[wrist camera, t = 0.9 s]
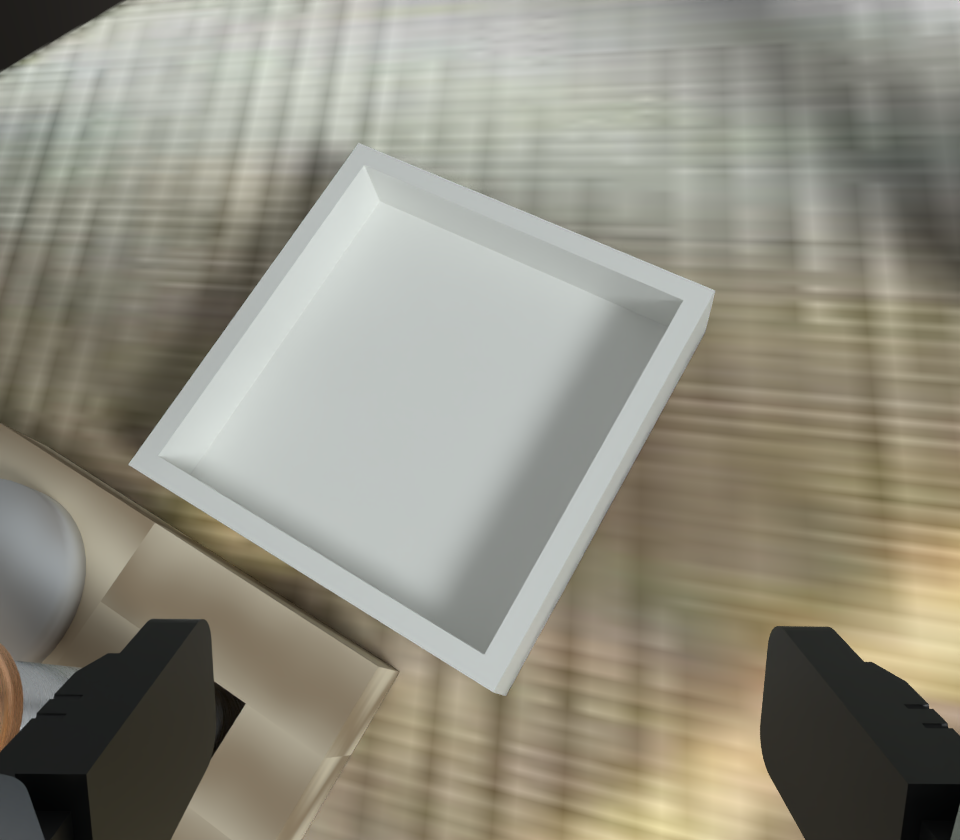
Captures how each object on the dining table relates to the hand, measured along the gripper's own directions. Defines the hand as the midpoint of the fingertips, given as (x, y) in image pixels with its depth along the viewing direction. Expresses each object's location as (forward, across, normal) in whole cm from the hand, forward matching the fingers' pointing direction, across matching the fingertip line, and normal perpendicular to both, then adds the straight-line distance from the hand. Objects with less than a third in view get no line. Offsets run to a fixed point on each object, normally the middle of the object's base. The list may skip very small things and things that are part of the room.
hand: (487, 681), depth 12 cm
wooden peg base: (+24, +16, +13) cm, 31 cm away
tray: (+28, +2, +2) cm, 28 cm away
